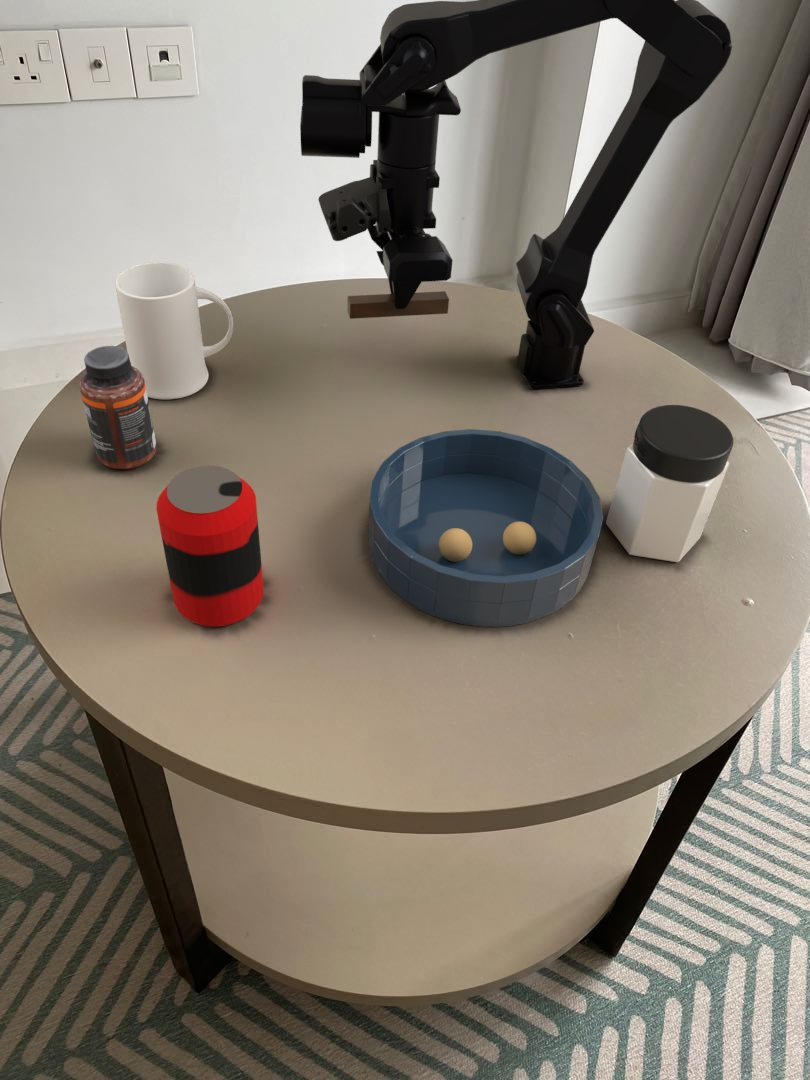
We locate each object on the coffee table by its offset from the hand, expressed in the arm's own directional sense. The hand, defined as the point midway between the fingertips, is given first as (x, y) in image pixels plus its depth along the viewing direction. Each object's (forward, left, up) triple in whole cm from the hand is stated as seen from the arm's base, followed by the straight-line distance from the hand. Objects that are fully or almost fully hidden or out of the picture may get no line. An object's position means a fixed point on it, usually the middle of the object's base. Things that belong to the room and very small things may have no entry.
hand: (398, 303), depth 96 cm
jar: (-19, +31, -9) cm, 37 cm away
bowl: (-2, +30, -9) cm, 31 cm away
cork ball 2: (-5, +32, -6) cm, 33 cm away
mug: (+24, -1, -9) cm, 26 cm away
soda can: (+22, +33, -9) cm, 40 cm away
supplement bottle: (+30, +12, -9) cm, 33 cm away
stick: (0, 0, -1) cm, 1 cm away
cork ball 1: (+1, +32, -7) cm, 32 cm away
